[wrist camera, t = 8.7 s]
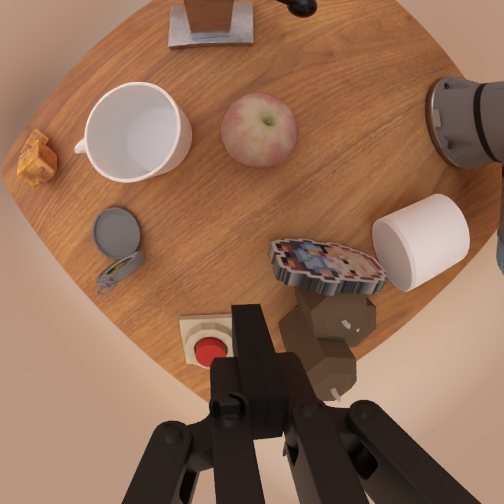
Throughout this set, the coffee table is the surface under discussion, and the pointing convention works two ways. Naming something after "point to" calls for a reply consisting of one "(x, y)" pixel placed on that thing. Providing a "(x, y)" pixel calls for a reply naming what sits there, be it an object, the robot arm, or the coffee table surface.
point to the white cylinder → (420, 241)
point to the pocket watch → (117, 245)
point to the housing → (205, 333)
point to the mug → (136, 133)
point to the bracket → (211, 24)
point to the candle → (328, 337)
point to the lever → (301, 7)
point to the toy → (325, 267)
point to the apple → (259, 130)
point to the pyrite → (36, 161)
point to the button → (209, 350)
